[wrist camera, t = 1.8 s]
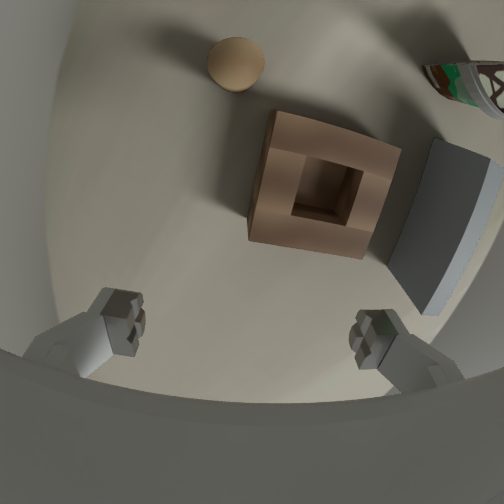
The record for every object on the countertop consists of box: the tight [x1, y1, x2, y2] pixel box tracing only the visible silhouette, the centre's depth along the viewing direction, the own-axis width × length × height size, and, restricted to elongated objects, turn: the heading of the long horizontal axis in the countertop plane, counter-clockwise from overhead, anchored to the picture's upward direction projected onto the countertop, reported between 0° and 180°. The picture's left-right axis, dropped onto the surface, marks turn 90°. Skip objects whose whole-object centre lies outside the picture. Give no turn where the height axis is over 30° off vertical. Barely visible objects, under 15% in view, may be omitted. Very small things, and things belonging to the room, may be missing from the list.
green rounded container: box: [422, 61, 504, 119], centre depth 19 cm, size 12×6×10 cm, turn 113°
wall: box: [387, 138, 504, 316], centre depth 27 cm, size 18×3×10 cm, turn 169°
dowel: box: [207, 37, 265, 92], centre depth 20 cm, size 4×4×8 cm
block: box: [247, 109, 402, 259], centre depth 27 cm, size 12×12×5 cm
